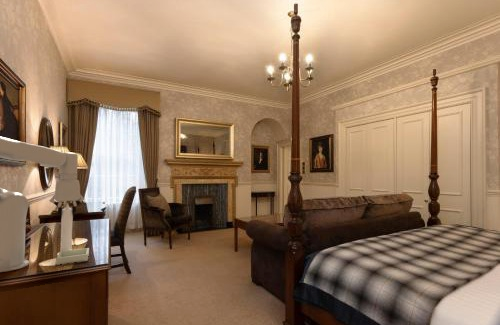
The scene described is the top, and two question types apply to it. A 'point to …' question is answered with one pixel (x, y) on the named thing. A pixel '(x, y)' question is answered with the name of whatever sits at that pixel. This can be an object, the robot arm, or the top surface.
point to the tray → (72, 256)
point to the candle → (66, 229)
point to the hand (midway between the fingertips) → (67, 214)
